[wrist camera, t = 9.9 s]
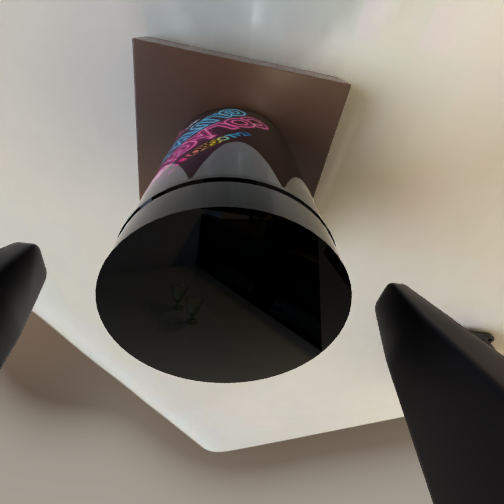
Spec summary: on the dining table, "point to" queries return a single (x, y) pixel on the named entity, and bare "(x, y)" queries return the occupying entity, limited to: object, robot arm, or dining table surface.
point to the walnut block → (230, 101)
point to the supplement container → (225, 259)
